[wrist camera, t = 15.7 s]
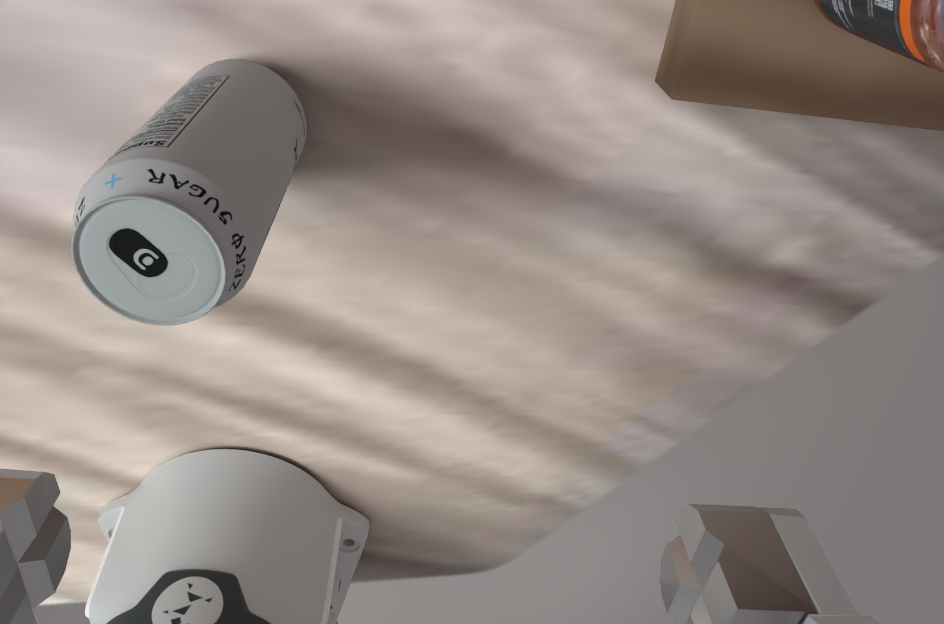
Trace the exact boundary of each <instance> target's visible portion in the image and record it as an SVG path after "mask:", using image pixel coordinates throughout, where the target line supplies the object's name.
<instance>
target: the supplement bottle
mask: <svg viewBox="0 0 944 624" xmlns="http://www.w3.org/2000/svg"><path fill="white" fill-rule="evenodd" d="M814 2H815V5H816V6H817V8H818V10H819V11H820V12H821V14H822V15H823V16H824V17H825V18H826V19H827V20H828V21H829V22H831V23H832V24H834V25H836V26H837V27H839V28H841V29H844V30H846V31H847V32H849V33H851V34H853V35H856V36H858V37H860V38H863V39H865V40H867V41H869V42H872V43H874V44H877V45H879V46H881V47H884V48H886V49H888V50H891V51H892V52H895V53H897V54H900V55H902V56H904V57H906V58H909V59H911V60H913V61H915V62H918V63H920V64H923V65H924V66H927V67H930V68H932V69H934V70H937V71H939V72H942V73H944V0H814Z"/></svg>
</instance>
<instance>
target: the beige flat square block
mask: <svg viewBox="0 0 944 624" xmlns="http://www.w3.org/2000/svg"><path fill="white" fill-rule="evenodd" d="M655 82H656V83H657V84H658V85H659V86H660V87H661V88H662V89H663V90H664V91H665V93H666V94H667V95H668V96H669V97H670V98H671V99H673V100H681V101H690V102H699V103H707V104H716V105H725V106H733V107H742V108H750V109H759V110H768V111H776V112H785V113H794V114H802V115H811V116H820V117H828V118H837V119H845V120H854V121H863V122H871V123H880V124H889V125H897V126H906V127H914V128H923V129H932V130H940V131H944V73H942V72H939V71H937V70H934V69H932V68H930V67H927V66H924V65H923V64H920V63H918V62H915V61H913V60H911V59H909V58H906V57H904V56H902V55H900V54H897V53H895V52H892V51H891V50H888V49H886V48H884V47H881V46H879V45H877V44H874V43H872V42H869V41H867V40H865V39H863V38H860V37H858V36H856V35H853V34H851V33H849V32H847V31H846V30H844V29H841V28H839V27H837V26H836V25H834V24H832V23H831V22H829V21H828V20H827V19H826V18H825V17H824V16H823V15H822V14H821V12H820V11H819V10H818V8H817V6H816V5H815V2H814V0H676V3H675V7H674V11H673V15H672V19H671V22H670V26H669V30H668V34H667V38H666V41H665V45H664V49H663V53H662V56H661V60H660V64H659V68H658V72H657V75H656V79H655Z"/></svg>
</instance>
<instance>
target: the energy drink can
mask: <svg viewBox="0 0 944 624" xmlns="http://www.w3.org/2000/svg"><path fill="white" fill-rule="evenodd" d="M306 135H307V123H306V116H305V113H304V109H303V106H302V104H301V102H300V100H299V98H298V96H297V94H296V93H295V92H294V90H293V89H292V88H291V86H290V85H289V84H288V83H287V82H286V81H285V80H284V79H283V78H282V77H280V76H279V75H278V74H277V73H275V72H273V71H272V70H270V69H269V68H267V67H265V66H262V65H260V64H258V63H255V62H251V61H246V60H241V59H228V60H222V61H217V62H214V63H212V64H210V65H207V66H205V67H204V68H202V69H201V70H200V71H198V72H197V73H196V74H195V75H194V76H193V77H192V78H191V79H190V80H189V81H188V82H187V83H186V84H185V85H184V86H183V87H182V88H181V89H180V90H179V91H178V92H176V93H175V94H174V95H173V96H172V97H171V98H170V99H169V100H168V101H167V102H166V103H165V104H164V105H163V106H162V107H161V108H160V109H159V110H158V111H157V112H156V113H155V114H154V115H153V116H152V117H151V118H150V119H149V120H148V121H147V122H146V123H145V124H144V125H143V126H142V127H141V128H140V129H139V130H138V131H137V132H136V133H135V134H134V135H133V136H132V137H131V138H130V139H129V140H128V141H127V142H126V143H125V144H124V145H123V146H122V147H121V148H120V149H119V150H118V151H117V152H116V153H115V154H114V155H113V156H112V157H111V158H110V159H109V160H108V161H107V162H106V163H105V164H104V165H103V166H101V167H100V168H99V169H98V170H97V171H96V172H95V173H94V174H93V175H92V176H91V178H90V179H89V180H88V181H87V182H86V184H85V185H84V186H83V187H82V189H81V191H80V193H79V195H78V198H77V200H76V203H75V209H74V215H73V221H74V232H73V237H72V243H71V249H72V259H73V262H74V265H75V268H76V271H77V273H78V275H79V277H80V278H81V280H82V282H83V284H84V285H85V286H86V287H87V289H88V290H89V291H90V292H91V293H92V295H93V296H95V297H96V298H97V299H98V300H99V301H100V302H101V303H102V304H104V305H105V306H107V307H108V308H110V309H111V310H113V311H114V312H116V313H118V314H120V315H122V316H124V317H127V318H129V319H131V320H135V321H138V322H141V323H145V324H152V325H178V324H184V323H187V322H190V321H193V320H196V319H198V318H200V317H201V316H203V315H205V314H206V313H208V312H209V311H210V310H211V309H212V308H214V307H217V306H220V305H222V304H223V303H225V302H227V301H228V300H230V299H231V298H233V297H234V296H235V295H236V294H237V293H238V292H239V291H240V290H241V289H242V288H243V287H244V285H245V284H246V282H247V281H248V279H249V278H250V276H251V273H252V271H253V269H254V266H255V264H256V261H257V259H258V257H259V254H260V252H261V249H262V247H263V245H264V242H265V240H266V237H267V235H268V233H269V230H270V228H271V225H272V223H273V221H274V218H275V216H276V213H277V211H278V209H279V206H280V204H281V201H282V199H283V197H284V194H285V192H286V189H287V187H288V185H289V182H290V180H291V177H292V175H293V173H294V170H295V168H296V165H297V163H298V161H299V158H300V156H301V153H302V151H303V148H304V145H305V142H306Z"/></svg>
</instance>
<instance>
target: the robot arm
mask: <svg viewBox="0 0 944 624" xmlns="http://www.w3.org/2000/svg"><path fill="white" fill-rule="evenodd" d="M59 494H60V490H59V487H58V484H57V481H56V478H55V475H54V474H51V473H47V472H37V471H24V470H11V469H0V624H37V621H36V618H35V615H34V611H33V608H35V607H36V606H37V605H39V604H40V603H42V602H43V601H44V600H46V599H47V598H48V597H50V596H51V595H52V594H54V593H55V591H56V589H57V587H58V585H59V583H60V581H61V579H62V576H63V574H64V572H65V569H66V565H67V561H68V557H69V553H70V549H71V530H70V526H69V522H68V518H67V517H66V516H65V515H64V514H63V513H61V512H60V511H59V510H58V509H56V508H55V507H54V506H53V505H54V503H55V501H56V500H57V498H58V496H59ZM98 522H99V526H100V528H101V530H102V531H103V533H104V535H105V537H106V539H107V540H108V542H109V544H108V547H107V549H106V552H105V555H104V557H103V560H102V563H101V565H100V568H99V571H98V573H97V576H96V579H95V581H94V584H93V587H92V590H91V592H90V595H89V598H88V601H87V604H86V609H85V615H86V617H88V618H89V619H90V623H91V624H338V622H336V620H337V617H338V615H339V612H340V609H341V607H342V604H343V601H344V599H345V596H346V593H347V591H348V588H349V585H350V583H351V580H352V578H353V575H354V572H355V570H356V567H357V564H358V562H359V559H360V556H361V554H362V551H363V548H364V546H365V543H366V540H367V538H368V533H369V529H370V522H369V520H368V519H367V518H366V517H365V516H363V515H362V514H360V513H358V512H357V511H355V510H353V509H351V508H349V507H347V506H345V505H343V504H340V503H339V502H338V501H336V500H335V499H334V498H333V497H332V496H331V495H330V494H329V493H328V492H327V490H326V489H325V488H324V487H323V486H322V485H321V484H320V483H319V482H318V481H317V480H315V479H314V478H313V477H312V476H310V475H309V474H307V473H306V472H304V471H303V470H301V469H300V468H298V467H296V466H294V465H292V464H290V463H288V462H285V461H283V460H280V459H278V458H275V457H272V456H268V455H265V454H261V453H256V452H251V451H244V450H234V449H214V450H204V451H197V452H192V453H188V454H185V455H182V456H179V457H176V458H173V459H171V460H169V461H167V462H165V463H163V464H162V465H160V466H158V467H157V468H156V469H154V470H153V471H152V472H151V473H150V474H149V475H148V476H147V477H146V478H145V479H144V480H143V481H142V482H141V484H140V485H139V486H138V487H137V488H136V489H135V490H134V491H133V492H131V493H129V494H127V495H124V496H122V497H119V498H117V499H115V500H113V501H111V502H109V503H107V504H106V505H105V506H104V507H103V508H102V511H101V514H100V517H99V521H98ZM676 523H677V526H678V529H679V532H680V536H678V537H677V538H675V539H674V540H672V541H671V542H669V543H668V544H667V546H666V548H665V551H664V554H663V557H662V559H661V570H660V584H661V591H662V597H663V601H664V604H665V608H666V611H667V614H668V615H669V616H670V617H671V618H672V619H673V620H674V621H675V622H676V623H677V624H879V623H878V622H877V621H876V620H874V619H873V618H872V617H870V616H860V615H859V614H858V612H857V610H856V608H855V606H854V605H853V603H852V601H851V599H850V597H849V596H848V594H847V592H846V590H845V589H844V587H843V585H842V583H841V581H840V580H839V578H838V576H837V574H836V572H835V571H834V569H833V567H832V565H831V564H830V562H829V560H828V558H827V556H826V554H825V553H824V551H823V549H822V548H821V546H820V544H819V542H818V540H817V538H816V537H815V535H814V533H813V531H812V529H811V528H810V526H809V524H808V523H807V520H806V519H805V517H804V516H803V515H802V514H801V513H800V512H799V511H798V510H796V509H787V508H765V507H759V508H757V507H751V506H726V505H699V504H688V505H687V506H686V507H685V508H683V509H682V510H681V513H680V515H679V517H678V520H677V522H676Z"/></svg>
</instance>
